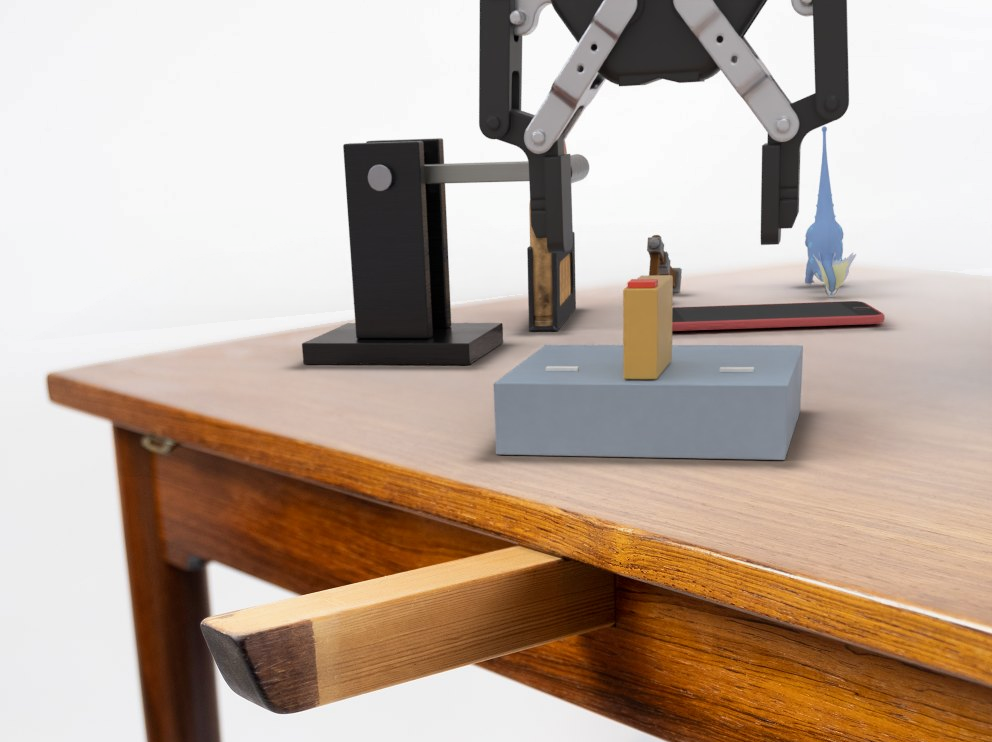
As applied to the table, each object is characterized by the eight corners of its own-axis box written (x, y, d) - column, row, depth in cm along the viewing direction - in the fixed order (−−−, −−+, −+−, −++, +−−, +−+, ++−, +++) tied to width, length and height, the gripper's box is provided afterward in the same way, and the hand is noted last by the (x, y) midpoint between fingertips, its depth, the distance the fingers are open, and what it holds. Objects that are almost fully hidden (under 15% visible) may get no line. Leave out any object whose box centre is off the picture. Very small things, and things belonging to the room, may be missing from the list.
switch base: (800, 411, 70) (803, 341, 68) (784, 460, 61) (788, 381, 60) (545, 408, 73) (544, 341, 71) (495, 454, 64) (493, 379, 62)
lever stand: (503, 342, 92) (496, 135, 88) (469, 365, 85) (460, 140, 80) (348, 342, 95) (334, 141, 90) (303, 364, 87) (285, 146, 83)
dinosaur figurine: (801, 338, 113) (813, 281, 103) (800, 153, 115) (812, 80, 106) (840, 337, 112) (856, 280, 103) (838, 151, 115) (854, 78, 105)
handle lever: (589, 189, 86) (589, 144, 85) (572, 195, 82) (571, 148, 81) (387, 194, 89) (384, 151, 88) (359, 200, 85) (356, 155, 84)
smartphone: (888, 315, 92) (658, 323, 92) (888, 324, 92) (658, 332, 92) (863, 300, 98) (647, 307, 99) (862, 309, 99) (647, 316, 99)
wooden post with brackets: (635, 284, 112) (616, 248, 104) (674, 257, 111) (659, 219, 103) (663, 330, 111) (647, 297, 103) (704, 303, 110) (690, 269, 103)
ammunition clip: (549, 308, 106) (545, 124, 101) (576, 307, 105) (573, 123, 101) (528, 331, 96) (523, 129, 91) (557, 330, 96) (553, 127, 91)
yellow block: (640, 360, 66) (640, 269, 64) (672, 360, 66) (673, 269, 64) (623, 379, 62) (622, 282, 60) (657, 379, 61) (657, 282, 60)
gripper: (861, -219, 57) (845, 232, 63) (492, -181, 60) (511, 244, 66) (860, -259, 50) (842, 251, 56) (445, -214, 53) (471, 263, 59)
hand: (663, 247), depth 61 cm, fingers open, 8 cm apart
